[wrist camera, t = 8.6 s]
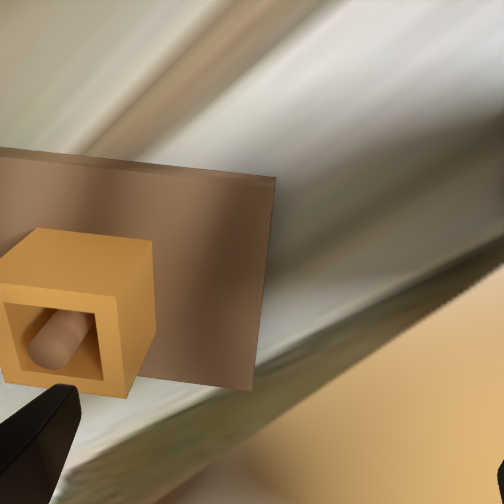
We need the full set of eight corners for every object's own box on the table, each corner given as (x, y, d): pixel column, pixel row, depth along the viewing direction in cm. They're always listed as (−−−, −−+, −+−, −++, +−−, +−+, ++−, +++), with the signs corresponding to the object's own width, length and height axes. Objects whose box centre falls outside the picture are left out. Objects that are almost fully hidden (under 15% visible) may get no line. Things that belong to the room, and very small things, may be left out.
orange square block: (151, 240, 20) (116, 296, 16) (156, 332, 22) (126, 398, 19) (36, 227, 20) (-26, 279, 16) (54, 319, 23) (5, 382, 19)
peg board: (275, 177, 19) (265, 245, 14) (253, 375, 25) (240, 476, 20) (-75, 138, 20) (-217, 188, 14) (-15, 339, 26) (-98, 428, 20)
